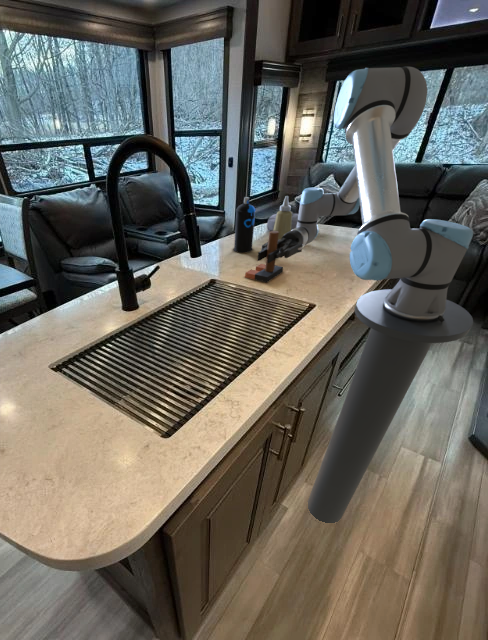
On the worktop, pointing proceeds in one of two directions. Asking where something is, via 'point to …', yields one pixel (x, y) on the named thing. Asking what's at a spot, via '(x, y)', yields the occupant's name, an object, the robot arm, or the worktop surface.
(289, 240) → the robot arm
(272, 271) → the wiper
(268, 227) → the grey oval stone
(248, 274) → the red square block
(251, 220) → the aerosol can
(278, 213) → the squeeze bottle
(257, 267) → the pink square block
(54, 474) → the worktop surface
